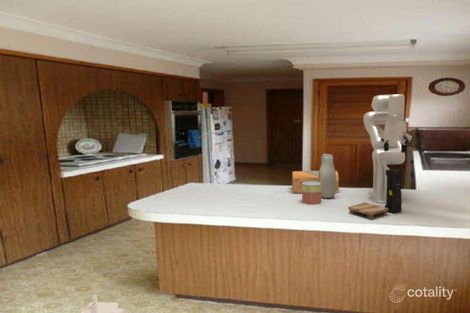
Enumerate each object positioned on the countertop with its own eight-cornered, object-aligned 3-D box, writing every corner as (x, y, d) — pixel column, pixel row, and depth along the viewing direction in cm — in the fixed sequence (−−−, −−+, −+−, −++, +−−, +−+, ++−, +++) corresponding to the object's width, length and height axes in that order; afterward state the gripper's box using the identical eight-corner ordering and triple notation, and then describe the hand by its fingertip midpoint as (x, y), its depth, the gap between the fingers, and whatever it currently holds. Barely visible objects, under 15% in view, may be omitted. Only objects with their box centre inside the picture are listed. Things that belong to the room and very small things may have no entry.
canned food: (314, 199, 207) (314, 180, 205) (325, 204, 196) (325, 184, 195) (298, 201, 204) (298, 182, 202) (308, 206, 193) (308, 186, 191)
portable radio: (393, 214, 173) (395, 167, 170) (383, 211, 179) (384, 165, 175) (402, 211, 178) (404, 165, 174) (391, 208, 183) (393, 164, 179)
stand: (348, 213, 177) (348, 206, 177) (365, 208, 185) (365, 202, 184) (371, 220, 165) (371, 213, 165) (388, 214, 173) (388, 208, 172)
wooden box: (335, 188, 234) (335, 168, 232) (339, 194, 218) (339, 173, 216) (292, 188, 239) (292, 169, 237) (292, 193, 223) (292, 173, 221)
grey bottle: (330, 195, 215) (330, 152, 211) (338, 199, 205) (338, 154, 201) (316, 196, 213) (316, 153, 209) (323, 200, 203) (323, 155, 199)
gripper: (376, 119, 176) (375, 151, 179) (407, 118, 162) (406, 153, 164) (384, 118, 180) (384, 149, 183) (416, 118, 166) (415, 152, 168)
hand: (394, 151), depth 173 cm, fingers open, 9 cm apart
